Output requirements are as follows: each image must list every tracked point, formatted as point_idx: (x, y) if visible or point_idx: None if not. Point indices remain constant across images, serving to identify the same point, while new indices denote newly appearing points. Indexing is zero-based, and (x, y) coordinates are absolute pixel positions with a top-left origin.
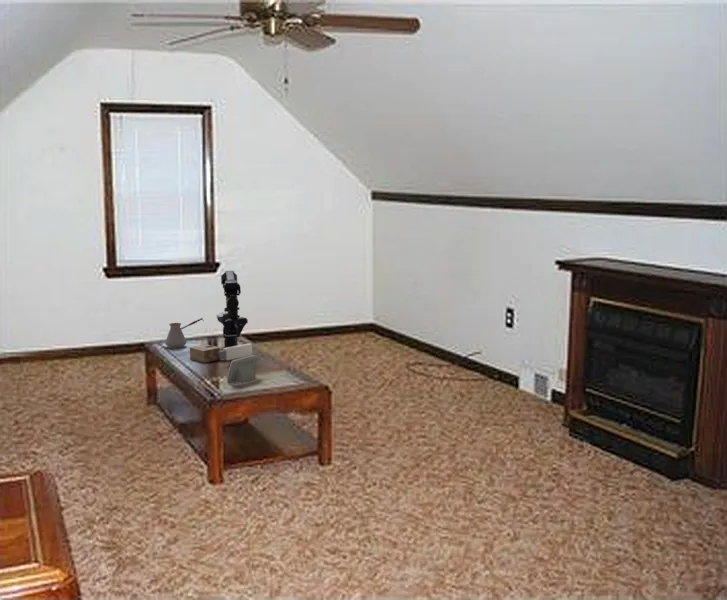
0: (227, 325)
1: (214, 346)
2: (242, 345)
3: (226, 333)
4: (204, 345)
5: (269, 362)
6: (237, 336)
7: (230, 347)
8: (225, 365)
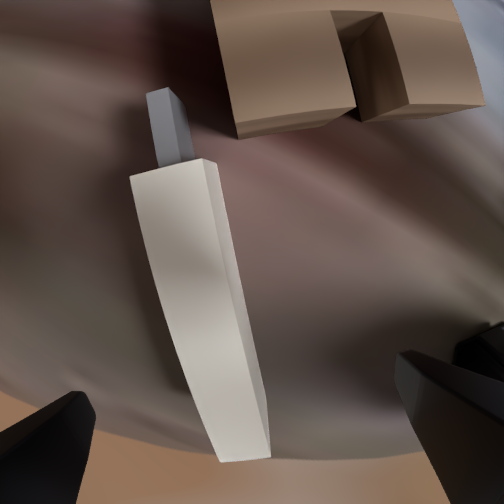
0: (490, 488)
1: (348, 103)
2: (214, 397)
3: (415, 355)
4: (450, 60)
5: (7, 365)
6: (68, 393)
7: (188, 252)
8: (35, 104)
